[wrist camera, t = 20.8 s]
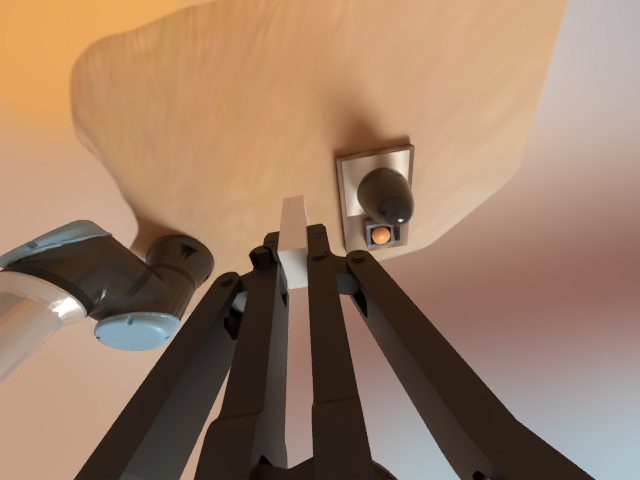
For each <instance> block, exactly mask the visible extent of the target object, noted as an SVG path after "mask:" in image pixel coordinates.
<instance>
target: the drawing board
mask: <svg viewBox="0 0 640 480" xmlns="http://www.w3.org/2000/svg"><path fill="white" fill-rule="evenodd" d="M335 158H336V168H337V177H338V186H339V195H340V204H341V213H342V223H343V232H344V241H345V250H346V254H348V253H349V252H351V251H354V250H365V251H367V252H368V251H373V250H379V249H385V248H391V247H397V246H403V245H407V238H408V225H409V222H408V223H406V224H404V225H402V226H400V240H399V241H395V240H394V235H393V229H392V227H388V226H386V228H387V229H388V231H389V233H390V238H389V240H388V241H387V242H385V243H383V244H377V243H375V242H374V240H373V238H372V236H371V234H370V228H375V227H381V226H385V225H382V224H380V223H378V222H376V221H375V220H373V219H372V218H371V217H369V216H368V215H367V214H366V213H365V212H364V211H363V209H362V208H361V207H360V205H359V203H358V200H357V189H358V186H359V184H360V182H361V180H362V178H363V177H364V176H365V175H366V174H367V173H368V172H370V171H372V170H374V169H377V168H381V167H390V168H393V169H396V170H397V171H399V172H400V173H401V174H402V175H403V176H404V177H405V179H406V180H407V182H408V184H409V186H410V188H411V185H412V172H413V159H414V146H413V145H412V144H407V145H401V146H396V147H390V148H384V149H379V150H373V151H367V152H362V153H356V154H350V155H344V156H339V157H335Z"/></svg>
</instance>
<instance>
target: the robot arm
mask: <svg viewBox="0 0 640 480" xmlns="http://www.w3.org/2000/svg"><path fill="white" fill-rule="evenodd" d="M249 257H250V259H251V262H252V264H253V266H254V268H253V271H251V272H249V273H247V274H244V275H242V276H239V274H238V273H236V272H227V273H225V274H222V275H221V276H219V277H218V278H217V279H216V280H215V281H214V283H213V284H212V285H211V287H210V288H209V290H208V291H207V292H206V294H205V295H204V297H203V298H202V299H201V301H200V302H199V304H198V305H197V306H196V308H195V309H194V311H193V312H192V314H191V315H190V316H189V318H188V319H187V321H186V322H185V323H184V325H183V326H182V328H181V329H180V331H179V332H178V333H177V335H176V336H175V338H174V339H173V341H172V342H171V343H170V345H169V346H168V347H167V349H166V350H165V352H164V353H163V354H162V356H161V357H160V359H159V360H158V361H157V363H156V364H155V366H154V367H153V369H152V370H151V371H150V373H149V374H148V376H147V377H146V379H145V380H144V381H143V383H142V384H141V386H140V387H139V388H138V390H137V391H136V393H135V394H134V395H133V397H132V398H131V400H130V401H129V402H128V404H127V405H126V407H125V408H124V409H123V411H122V412H121V414H120V415H119V417H118V418H117V420H116V421H115V422H114V424H113V425H112V427H111V428H110V429H109V431H108V432H107V434H106V435H105V436H104V438H103V439H102V441H101V442H100V443H99V445H98V446H97V448H96V449H95V450H94V452H93V453H92V455H91V456H90V457H89V459H88V460H87V462H86V463H85V464H84V466H83V467H82V469H81V471H80V472H79V473H78V474H77V476H76V477H75V479H74V480H179V479H180V477H181V475H182V473H183V471H184V468H185V466H186V464H187V462H188V459H189V457H190V455H191V453H192V450H193V448H194V446H195V444H196V442H197V439H198V437H199V435H200V433H201V431H202V428H203V426H204V424H205V422H206V420H207V417H208V415H209V413H210V410H211V409H212V406H213V404H214V402H215V400H216V397H217V395H218V393H219V391H220V388H221V386H222V384H223V382H224V380H225V377H226V375H227V373H228V371H229V369H230V373H229V378H228V382H227V386H226V391H225V395H224V400H223V404H222V408H221V411H220V414H219V416H218V418H217V419H215V420H214V421H213V422H211V424H210V425H209V427H208V429H207V432H206V435H205V438H204V442H203V446H202V449H201V454H200V457H199V461H198V465H197V469H196V473H195V477H194V480H397V478H396V477H395V476H393V475H392V474H391V473H390V472H389V471H388V470H387V469H386V468H384V467H383V466H382V465H380V464H379V463H377V462H375V461H373V460H372V457H371V452H370V447H369V442H368V437H367V432H366V427H365V422H364V417H363V412H362V407H361V402H360V398H359V394H358V389H357V384H356V379H355V374H354V369H353V364H352V358H351V354H350V348H349V343H348V338H347V333H346V328H345V323H344V317H343V312H342V307H341V302H340V297H339V294H345V295H350V298H351V299H352V301H353V303H354V305H355V306H356V308H357V310H358V311H359V313H360V315H361V316H362V318H363V320H364V321H365V323H366V325H367V326H368V328H369V330H370V332H371V333H372V335H373V337H374V338H375V340H376V342H377V343H378V345H379V347H380V348H381V350H382V351H383V353H384V355H385V357H386V358H387V360H388V362H389V364H390V365H391V367H392V368H393V370H394V372H395V374H396V375H397V377H398V379H399V380H400V382H401V384H402V385H403V387H404V389H405V390H406V392H407V394H408V396H409V397H410V399H411V400H412V402H413V404H414V406H415V407H416V409H417V411H418V412H419V414H420V416H421V417H422V419H423V421H424V422H425V424H426V426H427V428H428V429H429V431H430V433H431V434H432V436H433V438H434V439H435V441H436V443H437V444H438V446H439V448H440V450H441V451H442V453H443V454H444V455H445V457H446V459H447V460H448V462H449V463H450V465H451V466H452V468H453V469H454V471H455V472H456V474H457V475H458V476H459V478H460V479H461V480H595V479H594V478H592V477H591V476H590V475H589V474H587V473H586V472H585V471H583V470H582V469H581V468H579V467H578V466H577V465H576V464H574V463H573V462H572V461H570V460H569V459H568V458H566V457H565V456H564V455H562V454H561V453H560V452H558V451H557V450H556V449H554V448H553V447H552V446H550V445H549V444H548V443H546V442H545V441H544V440H542V439H541V438H540V437H538V436H537V435H536V434H535V433H533V432H532V431H531V430H529V429H528V428H527V427H525V426H524V425H522V424H521V423H520V422H519V421H517V420H516V419H515V417H514V416H513V415H512V414H511V413H510V412H509V411H508V409H507V408H506V407H505V406H504V405H503V404H502V403H501V402H500V400H499V399H498V398H497V397H496V396H495V395H494V394H493V392H492V391H491V390H490V389H489V388H488V387H487V386H486V384H484V382H483V381H482V380H481V379H480V378H479V377H478V375H476V373H475V372H474V371H473V370H472V369H471V367H470V366H469V365H468V364H467V363H466V362H465V361H464V359H462V357H461V356H460V355H459V354H458V353H457V352H456V350H455V349H454V348H453V347H452V346H451V345H450V344H449V342H448V341H447V340H446V339H445V338H444V337H443V336H442V334H441V333H440V332H439V331H438V330H437V329H436V328H435V327H434V325H433V324H432V323H431V322H430V321H429V320H428V319H427V317H426V316H425V315H424V314H423V313H422V312H421V311H420V310H419V308H418V307H417V306H416V305H415V304H414V303H413V302H412V300H411V299H410V298H409V297H408V296H407V295H406V294H405V293H404V291H403V290H402V289H401V288H400V287H399V286H398V285H397V283H396V282H395V281H394V280H393V279H392V278H391V277H390V275H389V274H388V273H387V272H386V271H385V270H384V269H383V268H382V266H381V265H380V264H379V263H378V262H377V261H376V260H375V258H374V257H373V256H372V255H371V254H370V253H369V252H367V251H365V250H354V251H351V252H349V253H348V254H347V255H346V257H341V256H336V255H334V254H333V253H332V252H331V251H330V247H329V242H328V237H327V232H326V227H325V226H324V225H323V224H316V225H309V220H308V215H307V211H306V206H305V201H304V196H303V195H302V196H296V197H291V198H285V199H283V207H282V216H281V225H280V231H278V232H272V233H268V234H267V236H266V237H265V238H264V244H263V245H262V246H259V247H256V248H255V249H253V250H252V251H251V252H250V254H249ZM0 267H2V268H4V269H3V270H1V271H0V386H1V385H2V384H3V383H4V382H5V381H6V380H7V379H8V378H9V377H10V376H11V375H12V374H13V373H14V372H15V371H16V370H17V369H18V368H19V367H20V366H21V365H22V364H23V363H24V362H25V361H26V360H27V359H28V358H29V357H30V356H32V355H33V354H34V353H35V351H37V350H38V349H39V348H40V347H41V346H42V345H43V344H44V343H45V342H46V341H47V340H48V339H49V338H50V337H51V336H52V335H53V334H54V333H55V332H56V331H57V330H58V329H59V328H60V327H62V326H66V325H71V324H75V323H79V322H81V321H83V320H84V319H85V318H86V317H87V316H90V317H92V318H93V319H95V320H97V321H98V323H97V324H96V326H95V330H94V335H95V336H96V338H97V339H98V341H100V342H101V343H103V344H105V345H107V346H109V347H113V348H116V349H120V350H127V351H146V350H152V349H155V348H158V347H160V346H162V345H164V344H166V343H167V342H168V341H169V340H170V339H171V337H172V336H173V334H174V332H175V331H176V329H177V328H178V327H179V325H180V321H181V318H182V317H183V315H184V313H185V311H186V308H187V306H188V304H189V302H190V300H191V298H192V296H193V294H194V292H195V290H196V289H197V288H198V287H200V286H201V285H202V284H203V283H204V282H205V281H206V280H207V279H208V278H209V277H210V275H211V273H212V271H213V268H214V259H213V256H212V254H211V253H210V251H209V250H208V249H207V248H206V247H205V246H204V245H203V244H201V243H200V242H198V241H196V240H194V239H192V238H189V237H186V236H180V235H170V236H165V237H162V238H160V239H158V240H157V241H156V242H155V243H154V244H153V245H152V246H151V247H150V249H149V250H148V252H147V256H146V262H145V263H144V262H143V261H142V260H141V259H139V258H138V257H137V256H136V255H135V254H133V253H132V252H131V251H130V250H128V249H127V248H126V247H125V246H123V245H122V244H121V243H120V242H118V241H117V240H116V239H115V238H113V237H112V234H111V233H108V232H106V231H105V230H103V229H102V228H101V227H99V226H98V225H96V224H95V223H94V222H92V221H89V220H77V221H74V222H71V223H69V224H66V225H64V226H62V227H59V228H57V229H55V230H53V231H50V232H48V233H46V234H44V235H41V236H39V237H37V238H35V239H33V240H32V241H31V242H28V243H25V244H24V245H21V246H19V247H17V248H15V249H13V250H11V251H9V252H7V253H5V254H4V255H2V256H1V257H0ZM287 284H288V287H289V289H294V288H300V287H306V286H308V296H309V316H310V336H311V353H312V354H311V355H312V376H313V396H314V400H313V405H312V437H313V457H312V458H310V459H308V460H306V461H304V462H302V463H300V464H298V465H296V466H294V467H292V468H290V469H287V451H286V445H285V408H286V406H285V405H286V377H287V345H288V344H287V343H288V312H289V294H288V291H287ZM230 366H231V368H230Z"/></svg>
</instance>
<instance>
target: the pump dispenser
mask: <svg viewBox="0 0 640 480" xmlns="http://www.w3.org/2000/svg"><path fill="white" fill-rule="evenodd" d="M357 200H358V203H359V205H360V207H361V208H362V209H363V211H364V212H365V213H366V214H367V215H368V216H369V217H371V218H372V219H373V220H375V221H376V222H378V223H380V224H382V225H385V226H388V227H392V229H393V235H394V240H395V241H399V240H400V226H402V225H404V224H406V223H408V222H409V220H410V219H411V217H412V215H413V212H414V199H413V195H412V191H411V188H410V186H409V184H408V182H407V180H406V179H405V177H404V176H403V175H402V174H401V173H400V172H399V171H397V170H396V169H393V168H390V167H381V168H377V169H374V170H372V171H370V172H368V173H367V174H366V175H365V176H364V177H363V178H362V180H361V182H360V184H359V186H358V189H357Z"/></svg>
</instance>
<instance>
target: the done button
mask: <svg viewBox="0 0 640 480" xmlns="http://www.w3.org/2000/svg"><path fill="white" fill-rule="evenodd" d="M370 234H371V236H372V238H373V240H374V242H375V243H377V244H383V243H385V242H387V241H388V240H389V238H390V233H389V231H388V229H387V228H386V226H381V227H375V228H370Z"/></svg>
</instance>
